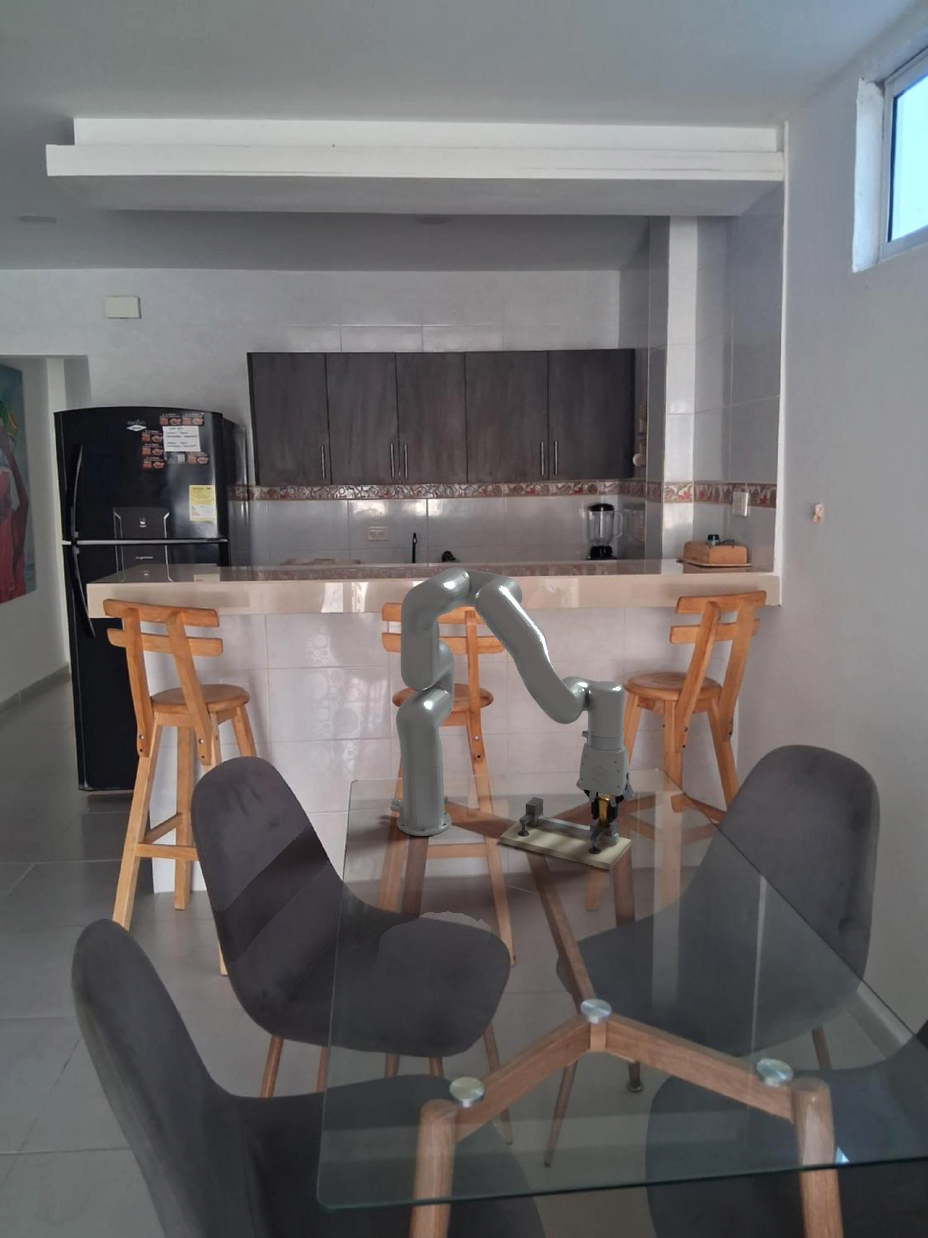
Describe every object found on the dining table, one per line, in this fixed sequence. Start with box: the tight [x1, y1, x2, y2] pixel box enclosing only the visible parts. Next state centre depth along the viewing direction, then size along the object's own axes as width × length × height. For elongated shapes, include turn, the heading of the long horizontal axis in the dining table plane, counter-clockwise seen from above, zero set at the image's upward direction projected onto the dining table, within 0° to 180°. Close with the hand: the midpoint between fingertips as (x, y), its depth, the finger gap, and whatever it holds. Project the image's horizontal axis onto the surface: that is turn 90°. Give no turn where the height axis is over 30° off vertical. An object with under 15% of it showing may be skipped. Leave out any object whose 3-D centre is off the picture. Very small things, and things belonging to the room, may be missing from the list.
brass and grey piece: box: [589, 795, 619, 849], centre depth 204 cm, size 5×8×9 cm, turn 149°
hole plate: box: [499, 796, 632, 871], centre depth 208 cm, size 26×12×7 cm, turn 60°
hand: (604, 818), depth 206 cm, fingers closed on brass and grey piece, 2 cm apart
